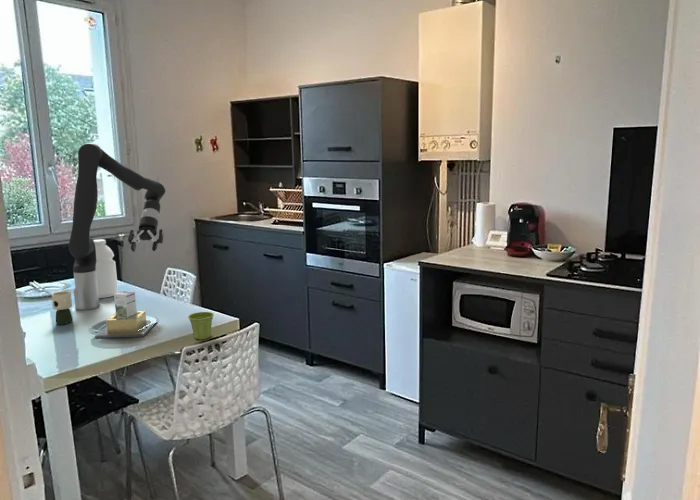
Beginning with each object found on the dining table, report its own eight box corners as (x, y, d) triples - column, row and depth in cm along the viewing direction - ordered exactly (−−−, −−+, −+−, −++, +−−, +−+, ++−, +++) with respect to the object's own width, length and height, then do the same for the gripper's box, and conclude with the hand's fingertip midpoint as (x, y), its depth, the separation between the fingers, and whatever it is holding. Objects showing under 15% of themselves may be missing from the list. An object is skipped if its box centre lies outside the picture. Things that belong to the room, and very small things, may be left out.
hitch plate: (95, 338, 205) (94, 323, 204) (113, 323, 222) (111, 309, 221) (143, 336, 206) (142, 321, 205) (157, 322, 223) (156, 308, 222)
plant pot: (191, 342, 198) (189, 320, 196) (188, 335, 206) (186, 313, 205) (217, 339, 202) (215, 316, 200) (212, 331, 210) (211, 310, 209)
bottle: (103, 290, 279) (98, 237, 274) (124, 292, 274) (119, 238, 270) (81, 297, 266) (75, 241, 261) (103, 299, 261) (98, 243, 256)
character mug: (51, 322, 226) (47, 292, 223) (69, 318, 230) (66, 289, 228) (59, 328, 218) (55, 297, 215) (77, 324, 223) (74, 293, 220)
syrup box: (138, 325, 216) (135, 290, 213) (128, 330, 210) (125, 294, 208) (127, 324, 218) (124, 289, 215) (116, 328, 212) (113, 293, 210)
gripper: (130, 215, 235) (123, 245, 226) (163, 215, 236) (157, 245, 227) (135, 226, 241) (129, 255, 232) (167, 225, 242) (162, 255, 233)
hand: (143, 250), depth 229 cm, fingers open, 8 cm apart
